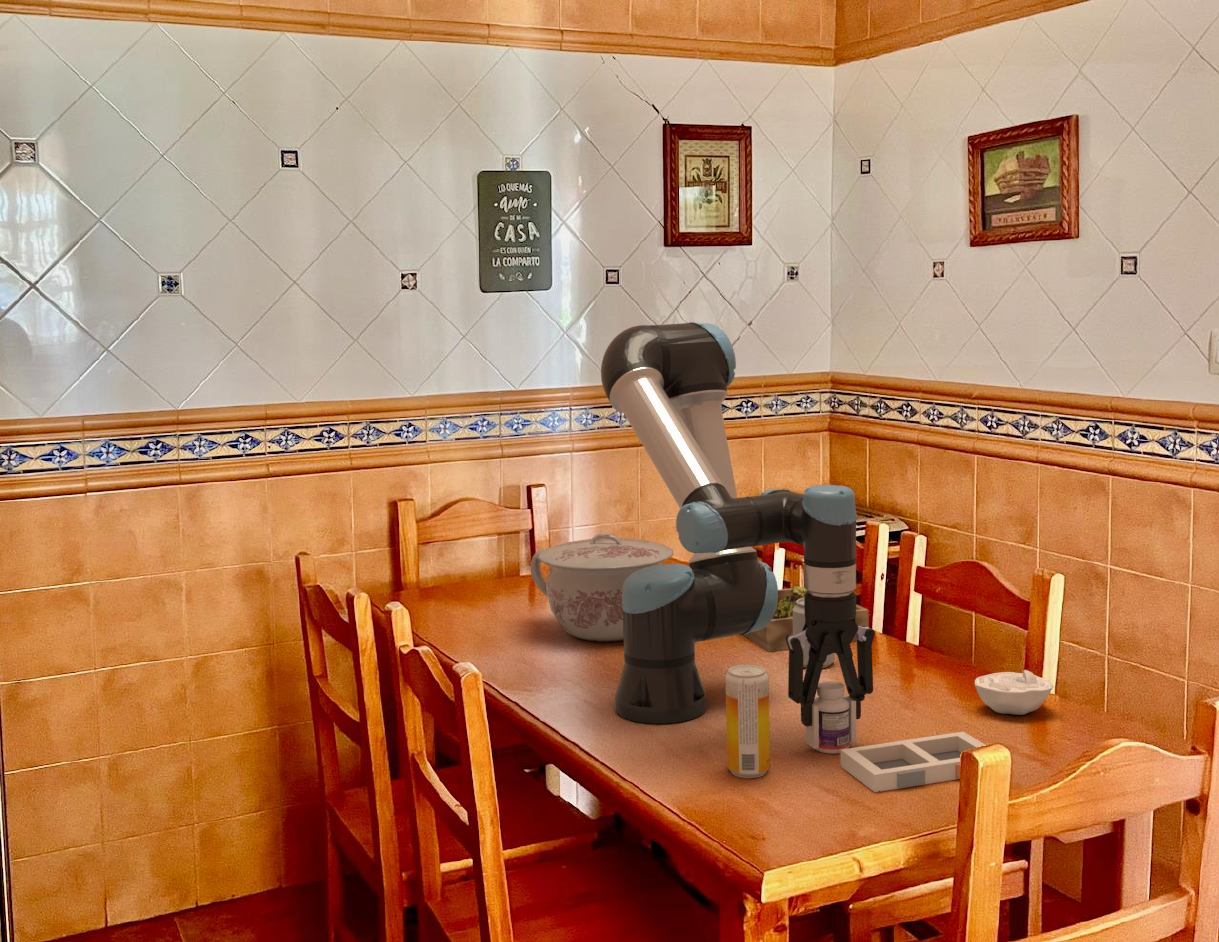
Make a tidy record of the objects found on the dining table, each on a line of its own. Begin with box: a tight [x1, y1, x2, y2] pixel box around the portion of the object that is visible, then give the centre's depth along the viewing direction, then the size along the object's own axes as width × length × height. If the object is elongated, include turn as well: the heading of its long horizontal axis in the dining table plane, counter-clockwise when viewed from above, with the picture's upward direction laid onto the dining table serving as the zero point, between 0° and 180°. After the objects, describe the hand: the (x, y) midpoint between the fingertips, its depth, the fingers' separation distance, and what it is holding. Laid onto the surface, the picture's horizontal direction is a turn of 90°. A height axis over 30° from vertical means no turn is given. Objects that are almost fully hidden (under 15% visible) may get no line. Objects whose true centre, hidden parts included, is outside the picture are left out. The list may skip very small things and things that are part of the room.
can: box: [793, 598, 836, 669], centre depth 225 cm, size 8×8×12 cm
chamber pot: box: [529, 532, 674, 643], centre depth 250 cm, size 28×28×21 cm
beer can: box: [724, 664, 771, 779], centre depth 176 cm, size 6×6×15 cm
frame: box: [743, 586, 870, 653], centre depth 247 cm, size 21×22×6 cm
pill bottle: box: [814, 680, 850, 755], centre depth 184 cm, size 5×5×10 cm
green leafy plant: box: [773, 585, 807, 619], centre depth 246 cm, size 17×16×10 cm
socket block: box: [840, 731, 987, 793], centre depth 175 cm, size 20×10×2 cm, turn 107°
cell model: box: [974, 669, 1055, 716], centre depth 197 cm, size 10×12×7 cm
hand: (831, 742), depth 185 cm, fingers closed on pill bottle, 5 cm apart
